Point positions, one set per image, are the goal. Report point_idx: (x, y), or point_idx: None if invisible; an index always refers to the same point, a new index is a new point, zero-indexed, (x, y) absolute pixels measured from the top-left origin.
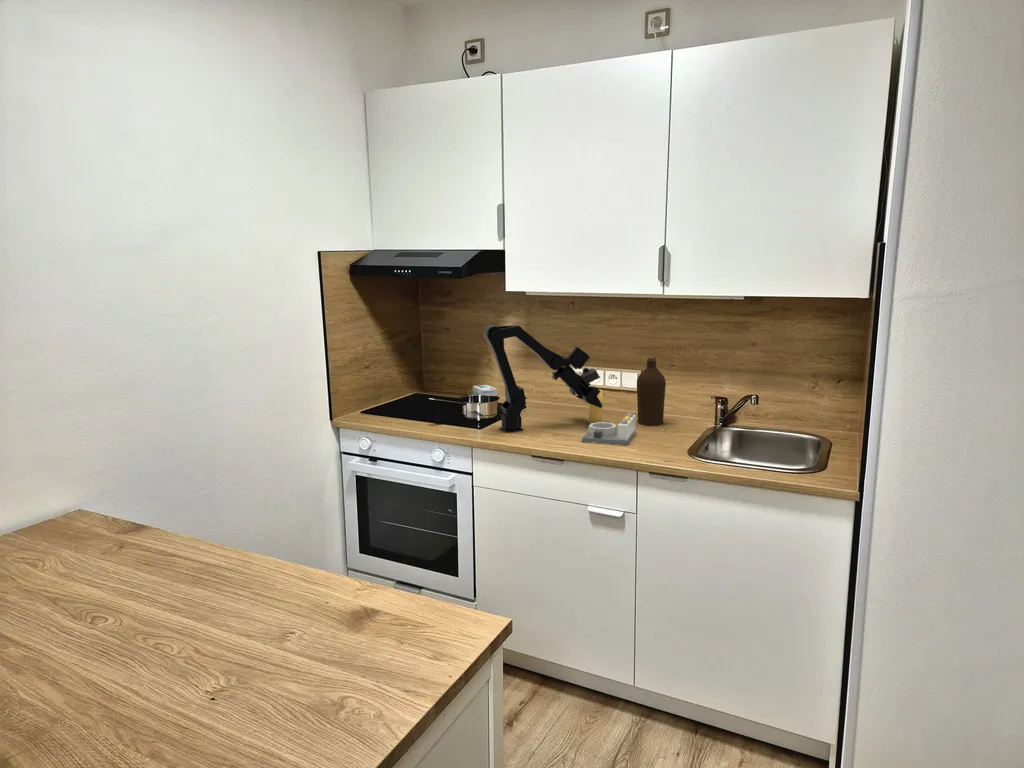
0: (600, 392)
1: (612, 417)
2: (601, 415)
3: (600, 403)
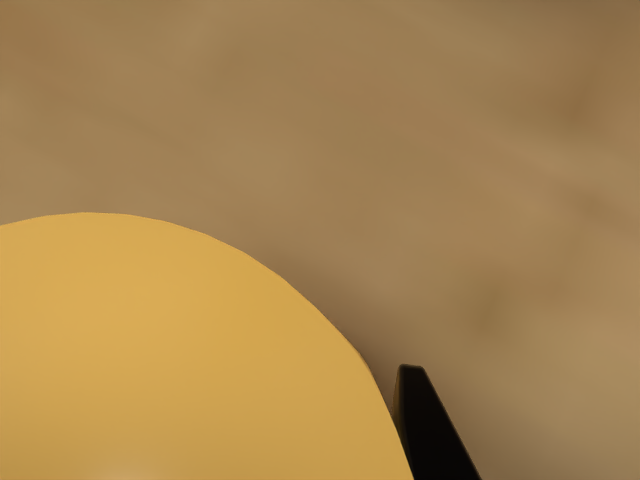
0: (402, 457)
1: (159, 97)
2: (365, 362)
3: (456, 449)
